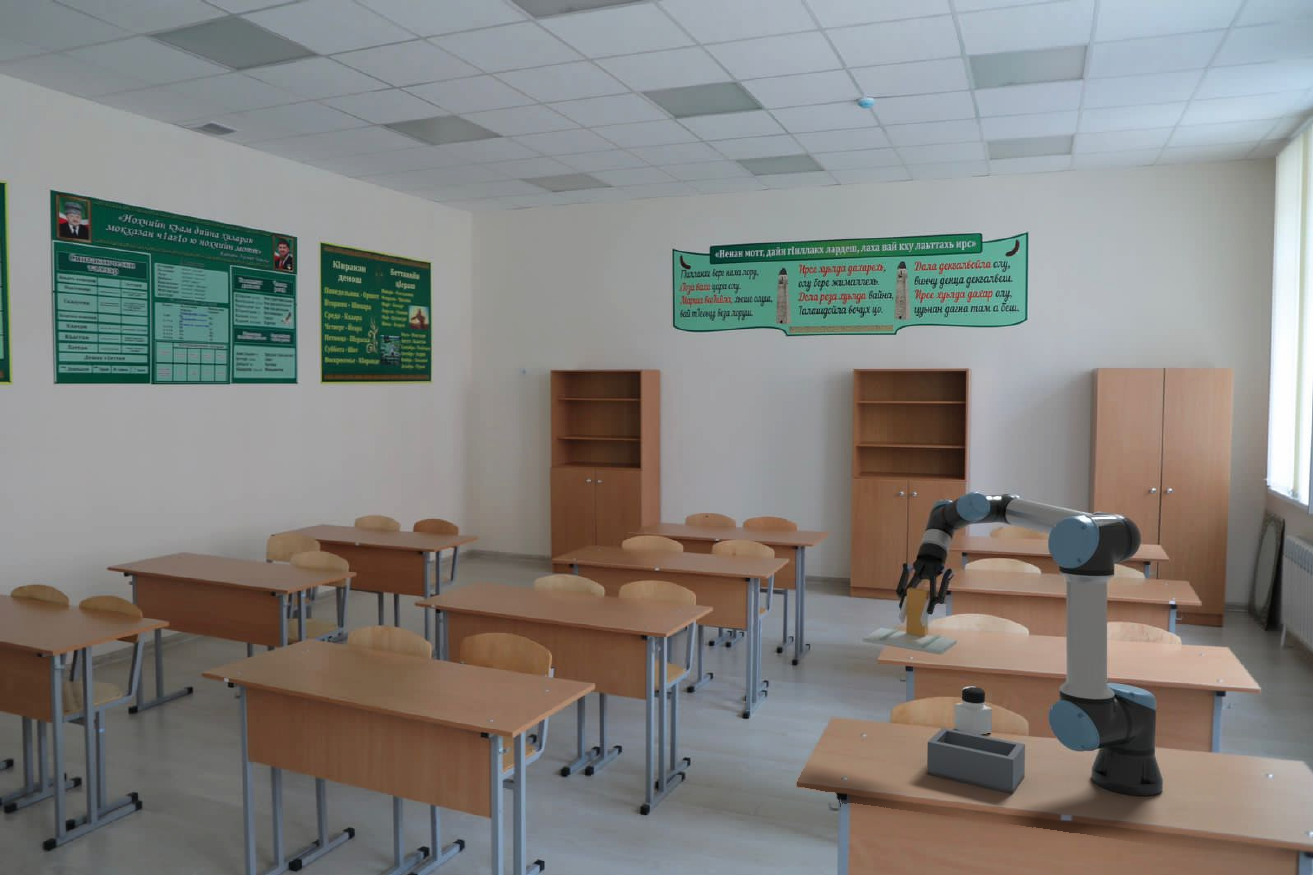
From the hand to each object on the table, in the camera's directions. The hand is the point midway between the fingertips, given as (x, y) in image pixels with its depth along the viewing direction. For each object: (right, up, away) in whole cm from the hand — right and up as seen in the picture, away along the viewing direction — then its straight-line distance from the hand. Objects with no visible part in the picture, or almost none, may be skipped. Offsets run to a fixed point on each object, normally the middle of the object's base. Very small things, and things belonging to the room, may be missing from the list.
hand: (912, 621), depth 238 cm
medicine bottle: (+21, -34, +15) cm, 43 cm away
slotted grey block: (-1, -5, -1) cm, 5 cm away
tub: (+11, -34, -15) cm, 39 cm away
